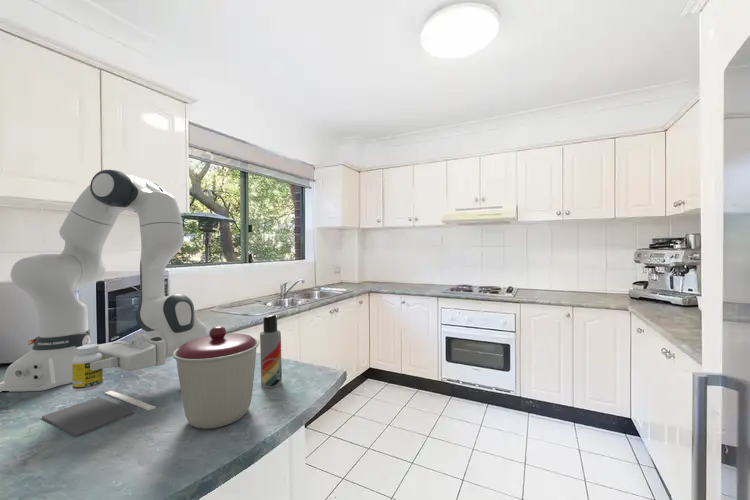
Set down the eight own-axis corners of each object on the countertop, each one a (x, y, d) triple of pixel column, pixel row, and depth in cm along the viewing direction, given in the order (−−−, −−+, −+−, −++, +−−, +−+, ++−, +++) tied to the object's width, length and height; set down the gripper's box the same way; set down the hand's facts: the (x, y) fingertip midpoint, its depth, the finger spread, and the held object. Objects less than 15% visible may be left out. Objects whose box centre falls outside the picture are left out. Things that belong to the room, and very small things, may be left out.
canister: (199, 450, 62) (197, 341, 62) (159, 423, 73) (157, 330, 73) (276, 411, 77) (274, 323, 77) (233, 393, 88) (232, 315, 88)
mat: (41, 417, 76) (41, 416, 76) (98, 398, 86) (98, 396, 86) (75, 436, 68) (75, 435, 68) (134, 413, 78) (134, 411, 78)
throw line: (104, 393, 89) (104, 392, 89) (111, 391, 90) (111, 390, 90) (149, 410, 79) (149, 409, 79) (155, 408, 80) (155, 406, 80)
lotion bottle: (273, 389, 89) (272, 317, 89) (256, 387, 91) (255, 316, 91) (285, 381, 94) (284, 313, 94) (269, 379, 96) (268, 312, 96)
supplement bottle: (85, 392, 74) (84, 350, 74) (66, 391, 75) (65, 349, 75) (108, 383, 79) (107, 343, 79) (91, 381, 80) (90, 342, 80)
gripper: (126, 332, 93) (63, 346, 81) (167, 341, 84) (103, 357, 72) (127, 354, 93) (64, 371, 81) (168, 365, 84) (104, 385, 72)
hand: (83, 364), depth 76 cm, fingers closed on supplement bottle, 5 cm apart
